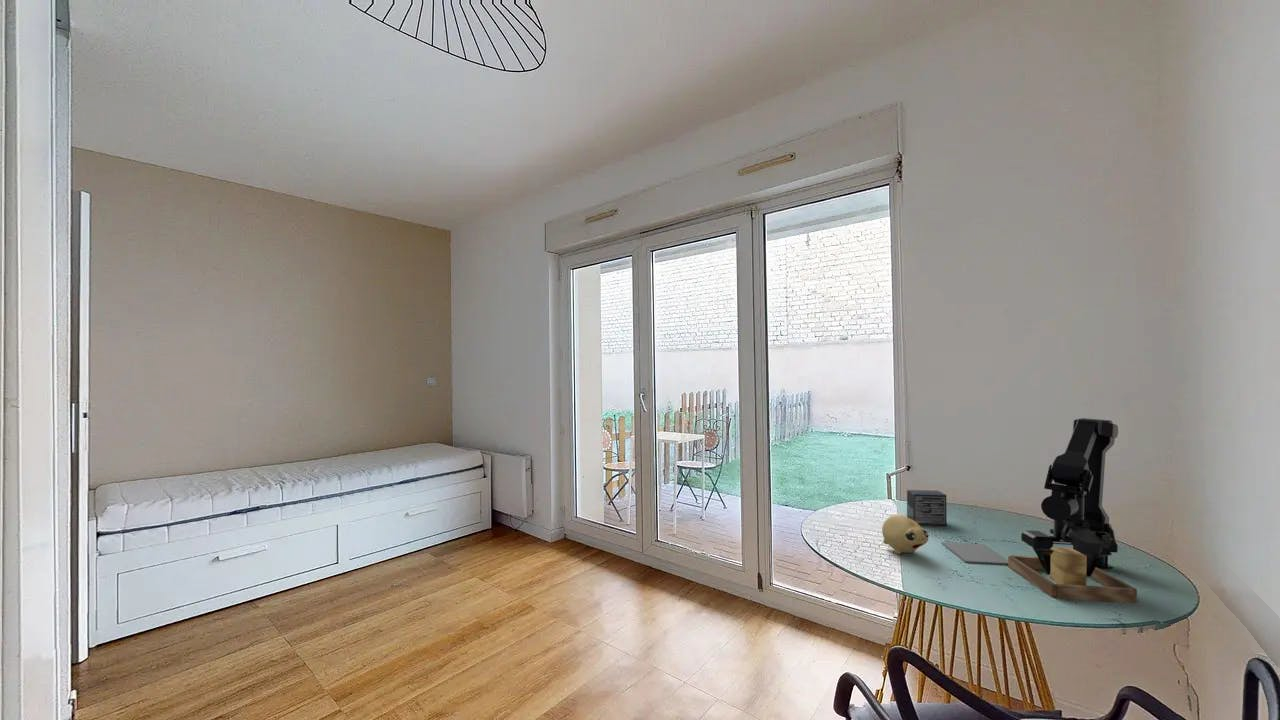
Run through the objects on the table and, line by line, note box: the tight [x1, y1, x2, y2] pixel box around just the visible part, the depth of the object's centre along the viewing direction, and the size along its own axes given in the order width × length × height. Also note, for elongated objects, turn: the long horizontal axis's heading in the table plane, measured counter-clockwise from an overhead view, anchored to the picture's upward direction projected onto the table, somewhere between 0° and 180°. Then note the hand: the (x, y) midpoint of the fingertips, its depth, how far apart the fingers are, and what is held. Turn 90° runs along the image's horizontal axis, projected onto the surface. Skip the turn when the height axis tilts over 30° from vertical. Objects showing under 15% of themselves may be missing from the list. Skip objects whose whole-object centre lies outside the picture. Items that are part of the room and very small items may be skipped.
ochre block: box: [1049, 546, 1087, 586], centre depth 127 cm, size 5×5×8 cm
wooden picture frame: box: [1007, 554, 1138, 604], centre depth 127 cm, size 18×18×3 cm
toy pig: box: [881, 513, 930, 555], centre depth 146 cm, size 10×12×11 cm
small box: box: [906, 489, 948, 527], centre depth 172 cm, size 11×6×10 cm, turn 84°
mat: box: [940, 541, 1008, 566], centre depth 145 cm, size 12×14×1 cm
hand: (1067, 575), depth 127 cm, fingers open, 9 cm apart
